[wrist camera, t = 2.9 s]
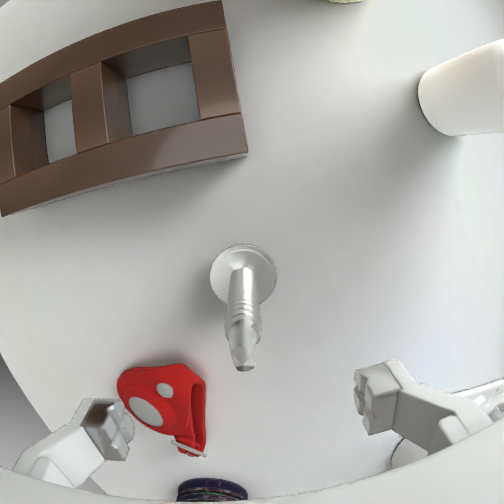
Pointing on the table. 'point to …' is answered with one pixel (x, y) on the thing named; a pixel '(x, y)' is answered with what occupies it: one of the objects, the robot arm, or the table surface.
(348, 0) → the reusable coffee cup
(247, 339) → the screw
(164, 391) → the tracker holder
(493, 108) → the can
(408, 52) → the table surface
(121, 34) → the holder
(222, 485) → the dark blue cylinder
